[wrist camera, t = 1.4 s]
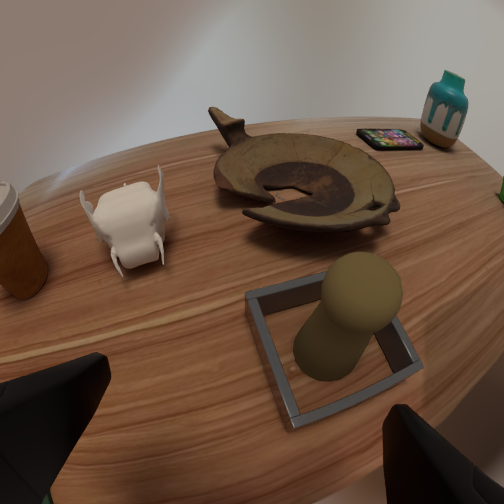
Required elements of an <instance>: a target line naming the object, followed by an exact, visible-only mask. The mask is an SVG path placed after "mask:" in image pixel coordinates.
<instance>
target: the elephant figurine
mask: <svg viewBox="0 0 504 504" xmlns="http://www.w3.org/2000/svg"><path fill="white" fill-rule="evenodd" d="M158 172H159V178H160V183H159V187H158V190H157V192H155V191H153V190H152V189H151V187H150V185H149V184H148V183H147V182H138V183H134V184H131V185H127V186H126V183H124V184H123V185H124V187H121V188H118V189H115V190H112V191H110V192H107V193H105V194H104V195H102V196H101V197H100V199H99V202H98V206H97V208H96V209H95V211H94V208H93V206H92V204H91V203H90V202H87V201H85V195H84V192H83V191H82V190H80V201H81V204H82V206H83V208H84V210H85V212H86V214H87V216H88V219H89V220H90V222H91V224H92V226H93V228H94V230H95V232H96V236H97V240H98V241H99V242H100V243H103V240H104V241H106V242H107V244H108V245H109V247H110V248H111V257H112V260H113V262H114V264H115V266H116V268H117V270H118V271H119V273H120V274H121V276H122V277H123V275H122V272H121V270H120V268H119V266H118V263H117V257H119V259H120V261H121V264H122V265H123V266H124V267H125V268H127V269H131V268H134V267H137V266H139V265H142V264H145V263H149V262H153V261H156V260H158V259H159V249H160V251H161V256H162V262H163V264H164V249H163V242H164V239H165V224H164V221H165V222H168V221H169V213H168V209H167V207H166V204H165V193H164V186H163V178H164V173H163V172H162V170H161V169H160V167H159V165H158ZM157 244H158V245H159V246H157Z"/></svg>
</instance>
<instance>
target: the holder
mask: <svg viewBox="0 0 504 504" xmlns="http://www.w3.org/2000/svg"><path fill="white" fill-rule="evenodd" d="M326 272H327V271H325V272H322V273H318V274H314V275H310V276H307V277H303V278H299V279H295V280H291V281H287V282H283V283H279V284H275V285H271V286H267V287H263V288H259V289H255V290H251V291H247V292H245V314H246V317H247V320H248V323H249V326H250V329H251V332H252V335H253V338H254V341H255V344H256V347H257V350H258V353H259V356H260V358H261V361H262V364H263V367H264V370H265V373H266V376H267V379H268V381H269V384H270V387H271V390H272V393H273V395H274V398H275V401H276V404H277V407H278V409H279V412H280V415H281V418H282V420H283V423H285V424H284V426H285V428H286V431H287V432H290V431H293V430H296V429H299V428H302V427H305V426H307V425H310V424H313V423H315V422H318V421H321V420H323V419H326V418H328V417H330V416H333V415H335V414H338V413H340V412H342V411H345V410H347V409H349V408H351V407H353V406H356V405H358V404H360V403H362V402H364V401H366V400H368V399H370V398H372V397H374V396H376V395H378V394H380V393H382V392H384V391H386V390H388V389H390V388H391V387H393V386H395V385H397V384H399V383H401V382H402V381H404V380H406V379H407V378H409V377H410V376H412V375H413V374H415V373H416V372H418V371H419V370H421V369H422V368H423V367H424V366H423V364H422V362H421V360H419V359H420V358H419V356H418V354H417V352H416V351H415V349H414V347H413V345H412V343H411V341H410V339H409V337H408V336H407V334H406V332H405V330H404V328H403V327H402V325H401V323H400V321H399V319H398V318H397V316H395V318H394V319H393V320H392V321H391V322H390V323H389V324H388V325H387V326H385V327H384V328H382V329H381V330H379V331H377V332H374V334H375V336H376V338H377V340H378V342H379V344H380V346H381V348H382V350H383V352H384V354H385V356H386V358H387V360H388V362H389V364H390V366H391V368H392V370H393V372H394V374H393V375H391V376H389V377H387V378H385V379H383V380H381V381H379V382H377V383H375V384H373V385H371V386H369V387H367V388H365V389H363V390H361V391H359V392H356V393H354V394H352V395H350V396H347V397H345V398H343V399H341V400H338V401H336V402H333V403H331V404H328V405H326V406H323V407H321V408H318V409H316V410H313V411H310V412H308V413H305V414H302V415H300V412H299V409H298V406H297V404H296V401H295V399H294V396H293V393H292V391H291V388H290V385H289V383H288V380H287V378H286V375H285V372H284V370H283V367H282V364H281V362H280V359H279V356H278V354H277V351H276V348H275V346H274V343H273V340H272V338H271V335H270V332H269V330H268V327H267V324H266V322H265V319H264V316H263V315H266V314H269V313H273V312H277V311H281V310H284V309H288V308H291V307H295V306H298V305H302V304H305V303H309V302H312V301H315V300H319V299H321V285H322V282H323V279H324V277H325V274H326Z"/></svg>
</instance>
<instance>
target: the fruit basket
mask: <svg viewBox="0 0 504 504" xmlns="http://www.w3.org/2000/svg"><path fill="white" fill-rule="evenodd" d="M499 198H500V199H501V200H502V202H503V203H504V176H503V184H502V188H501V192H500V196H499Z"/></svg>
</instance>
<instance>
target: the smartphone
mask: <svg viewBox="0 0 504 504" xmlns="http://www.w3.org/2000/svg"><path fill="white" fill-rule="evenodd" d="M356 133H357V135H358V136H360V137H361V138H362V139H363V140H364V141H366V142H367V143H368V144H369V145H370V146H372V147H373V148H375V149H378V150H388V149H423V146H424V145H423V144H422V143H421V142H419V141H418V140H417V139H416V138H414V137H413V136H412V135H410V134H409V133H407V132H406V131H404V130H398V129H357V132H356Z"/></svg>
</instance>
